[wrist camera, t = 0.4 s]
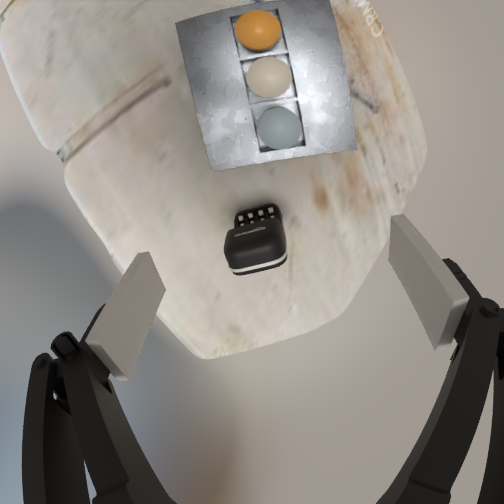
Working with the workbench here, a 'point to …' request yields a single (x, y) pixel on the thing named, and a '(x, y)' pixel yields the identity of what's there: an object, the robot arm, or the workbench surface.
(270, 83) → the ivory button
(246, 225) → the battery charger
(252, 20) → the orange button
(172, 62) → the workbench surface
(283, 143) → the pale blue button
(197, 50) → the panel
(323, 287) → the workbench surface
